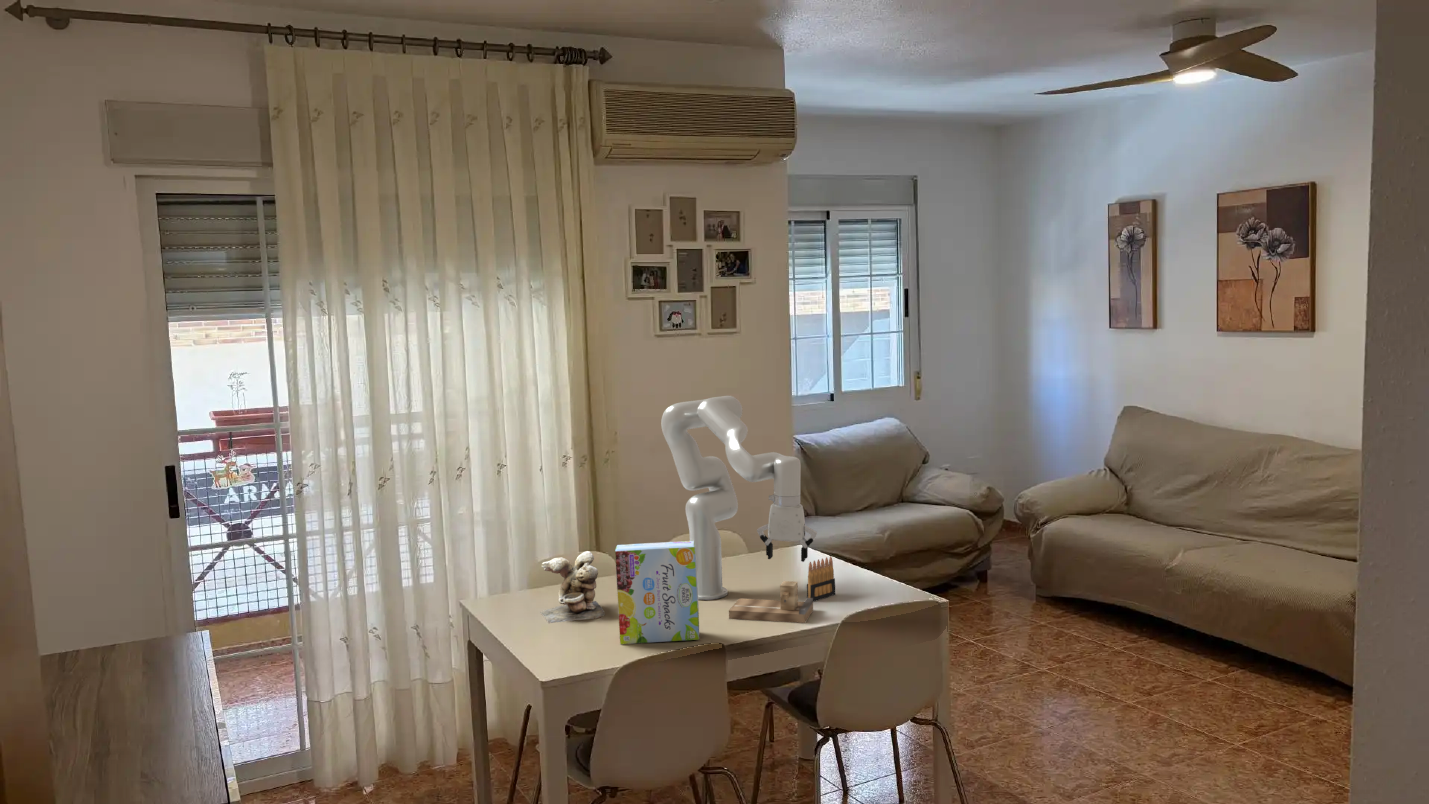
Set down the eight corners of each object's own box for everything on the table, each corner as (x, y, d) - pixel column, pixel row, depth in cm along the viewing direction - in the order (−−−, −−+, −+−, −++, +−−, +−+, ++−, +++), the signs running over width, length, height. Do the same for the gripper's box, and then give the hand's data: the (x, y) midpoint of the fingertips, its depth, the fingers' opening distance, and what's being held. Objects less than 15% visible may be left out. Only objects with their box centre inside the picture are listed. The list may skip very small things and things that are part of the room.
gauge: (778, 612, 300) (777, 588, 299) (786, 602, 310) (786, 578, 310) (792, 613, 299) (791, 588, 298) (800, 602, 309) (799, 579, 308)
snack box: (699, 631, 294) (696, 539, 291) (700, 641, 285) (696, 547, 282) (620, 634, 293) (616, 542, 290) (618, 645, 284) (614, 550, 281)
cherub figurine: (547, 625, 304) (544, 563, 302) (536, 608, 320) (533, 549, 319) (608, 617, 309) (606, 556, 307) (594, 600, 326) (592, 543, 324)
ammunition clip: (811, 602, 318) (810, 562, 316) (806, 600, 319) (805, 561, 318) (835, 594, 324) (835, 556, 323) (831, 593, 326) (830, 555, 325)
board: (729, 618, 304) (728, 606, 304) (739, 606, 315) (739, 594, 315) (805, 622, 298) (804, 610, 298) (813, 610, 309) (812, 598, 309)
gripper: (754, 501, 301) (754, 560, 303) (814, 505, 296) (814, 565, 298) (760, 495, 308) (760, 553, 310) (819, 499, 303) (819, 558, 305)
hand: (786, 559), depth 304 cm, fingers open, 9 cm apart
